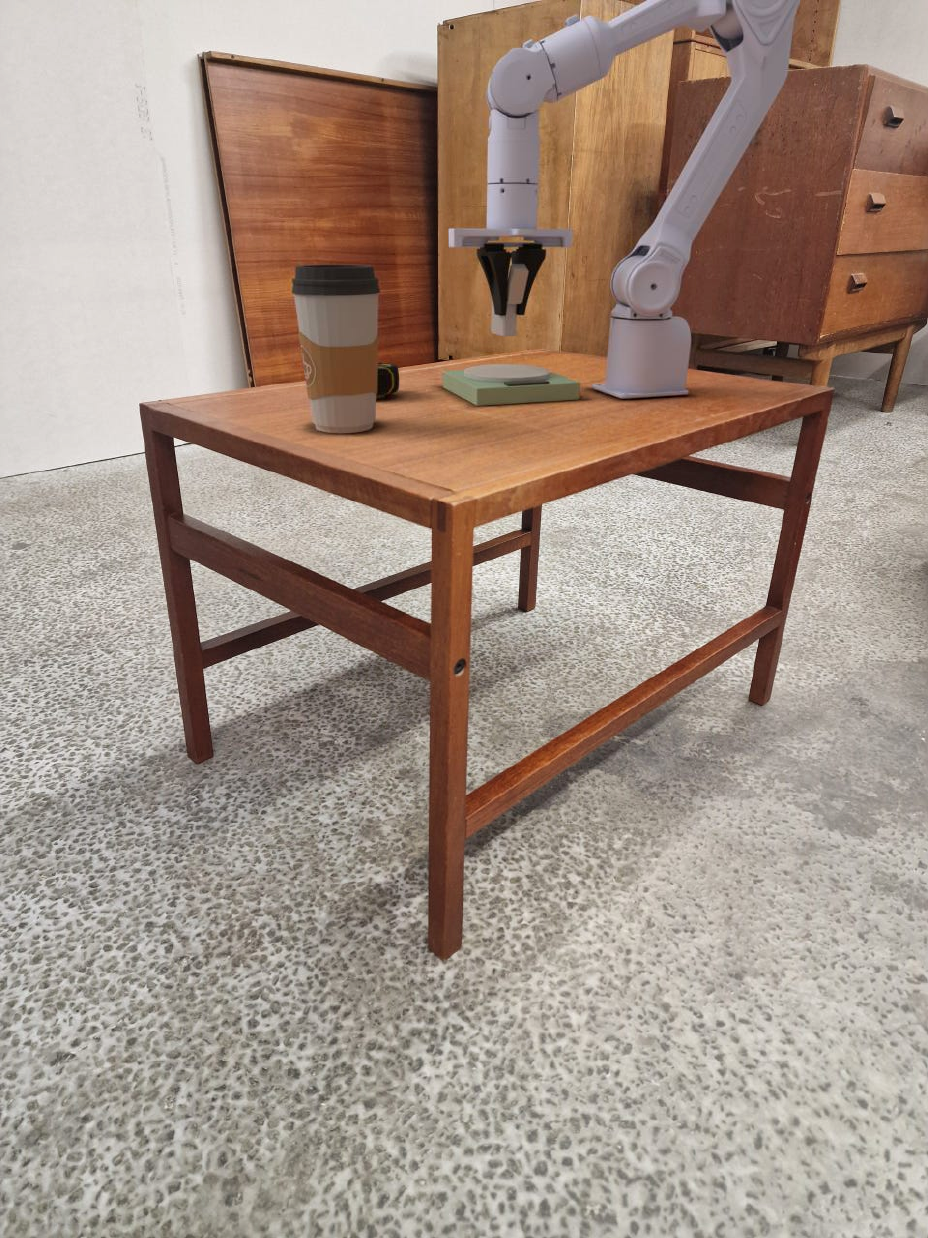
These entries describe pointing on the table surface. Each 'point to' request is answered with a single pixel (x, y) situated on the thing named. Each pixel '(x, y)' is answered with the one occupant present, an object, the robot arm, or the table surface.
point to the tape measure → (387, 379)
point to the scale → (509, 384)
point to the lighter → (511, 301)
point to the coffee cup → (339, 343)
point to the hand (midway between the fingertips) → (509, 314)
